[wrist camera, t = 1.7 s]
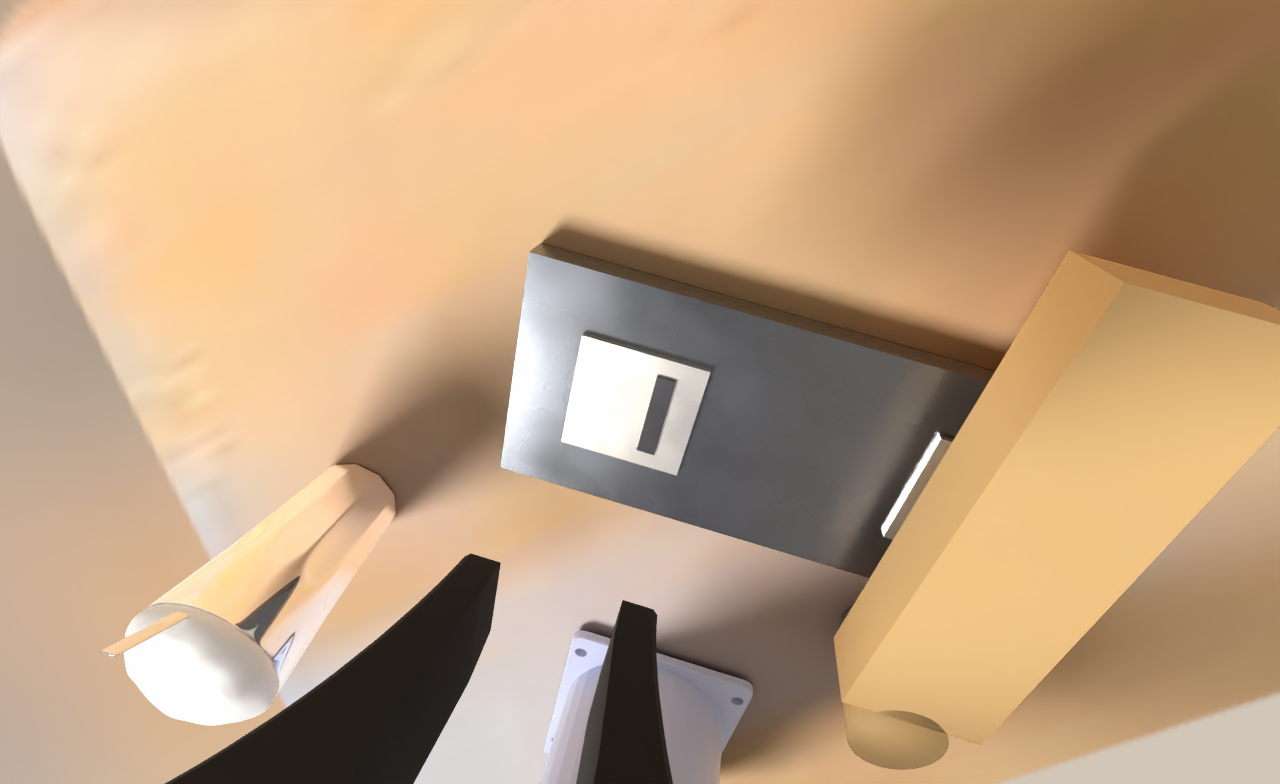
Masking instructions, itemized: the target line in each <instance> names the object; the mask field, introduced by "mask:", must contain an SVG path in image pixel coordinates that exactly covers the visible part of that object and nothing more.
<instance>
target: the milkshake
mask: <svg viewBox="0 0 1280 784" xmlns="http://www.w3.org/2000/svg"><path fill="white" fill-rule="evenodd" d="M395 515H396V509H395V496H394V493H393V492H392V491H391V490H390V488H389V487H388V486H387V485H386V483H385V482H384V481H383V480H382V478H381V477H380V476H379V475H377V474H375V473H373V472H371V471H369V470H367V469H365V468H363V467H361V466H359V465H357V464H346V465H333V466H332V467H330V468H329V469H328V470H326V471H325V472H324V473H323V474H321V475H320V476H319V477H317V478H316V479H315V480H314V481H312V482H311V483H310V484H309V485H307V486H306V487H305V488H303V489H302V490H301V491H300V492H298V493H297V494H296V495H295V496H293V497H292V498H291V499H289V500H288V501H287V502H286V503H284V504H283V505H282V506H281V507H279V508H278V509H277V510H276V511H274V512H273V513H272V514H270V515H269V516H268V517H267V518H265V519H264V520H263V521H262V522H260V523H259V524H258V525H256V526H255V527H254V528H253V529H251V530H250V531H249V532H248V533H246V534H245V535H244V536H242V537H241V538H240V539H239V540H237V541H236V542H235V543H233V544H232V545H231V546H229V547H228V548H227V549H225V550H224V551H223V552H221V553H220V554H218V555H217V556H216V557H214V558H213V559H212V560H210V561H209V562H207V563H206V564H205V565H204V566H202V567H201V568H199V569H198V570H197V571H195V572H194V573H193V574H191V575H190V576H189V577H187V578H186V579H185V580H183V581H182V582H180V583H179V584H178V585H176V586H175V587H174V588H172V589H171V590H170V591H168V592H167V593H166V594H164V595H163V596H162V597H160V598H159V599H158V600H156V601H155V602H154V603H152V604H151V605H150V606H148V607H147V608H146V609H144V610H143V611H141V612H140V613H139V614H138V615H137V616H136V617H134V619H133V620H132V621H131V623H130V624H129V626H128V628H127V630H126V634H125V638H124V639H122V640H120V641H118V642H116V643H114V644H112V645H110V646H108V647H107V648H105V649H103V650H101V651H100V652H101V653H103V654H106V655H110V656H118V655H120V654H122V653H124V658H125V665H126V670H127V673H128V675H129V677H130V678H131V679H132V680H133V681H134V682H135V683H136V684H137V686H138V687H139V689H140V690H141V691H142V693H143V694H144V695H145V696H146V698H147V699H148V700H149V701H150V702H151V703H152V704H153V705H154V706H156V707H157V708H158V709H159V710H160V711H162V712H163V713H164V714H166V715H168V716H170V717H172V718H175V719H180V720H184V721H189V722H192V723H197V724H202V725H221V724H226V723H234V722H239V721H243V720H246V719H250V718H253V717H255V716H258V715H260V714H261V713H263V712H264V711H266V710H267V709H268V708H269V707H270V706H271V704H272V703H273V701H274V699H275V697H276V695H277V694H278V692H279V691H280V689H281V688H282V686H283V685H284V683H285V681H286V680H287V678H288V677H289V675H290V674H291V672H292V670H293V669H294V667H295V666H296V664H297V663H298V661H299V659H300V658H301V656H302V655H303V653H304V652H305V650H306V648H307V647H308V645H309V644H310V642H311V641H312V639H313V637H314V636H315V634H316V633H317V631H318V629H319V628H320V626H321V625H322V623H323V622H324V620H325V618H326V617H327V615H328V614H329V612H330V611H331V609H332V608H333V606H334V605H335V603H336V602H337V600H338V599H339V597H340V596H341V594H342V593H343V592H344V590H345V589H346V587H347V586H348V584H349V583H350V581H351V580H352V578H353V577H354V575H355V574H356V572H357V571H358V569H359V568H360V567H361V565H362V564H363V562H364V561H365V559H366V558H367V556H368V555H369V553H370V552H371V550H372V549H373V547H374V546H375V544H376V543H377V541H378V540H379V539H380V537H381V536H382V534H383V533H384V531H385V530H386V528H387V527H388V525H389V524H390V522H391V521H392V519H393V518H394V516H395Z"/></svg>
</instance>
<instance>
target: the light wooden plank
mask: <svg viewBox="0 0 1280 784" xmlns="http://www.w3.org/2000/svg"><path fill="white" fill-rule="evenodd" d="M1279 426H1280V310H1278V309H1276V308H1274V307H1272V306H1269V305H1267V304H1265V303H1263V302H1259V301H1256V300H1252V299H1248V298H1245V297H1241V296H1237V295H1234V294H1230V293H1226V292H1223V291H1219V290H1215V289H1212V288H1208V287H1204V286H1201V285H1197V284H1193V283H1189V282H1186V281H1182V280H1178V279H1175V278H1171V277H1167V276H1164V275H1160V274H1156V273H1153V272H1149V271H1145V270H1142V269H1138V268H1134V267H1131V266H1127V265H1123V264H1120V263H1116V262H1112V261H1109V260H1105V259H1101V258H1097V257H1094V256H1090V255H1086V254H1083V253H1079V252H1075V251H1072V250H1069V251H1068V252H1067V254H1066V256H1065V257H1064V259H1063V261H1062V262H1061V264H1060V266H1059V267H1058V269H1057V270H1056V272H1055V274H1054V275H1053V277H1052V279H1051V280H1050V282H1049V284H1048V285H1047V287H1046V289H1045V290H1044V292H1043V294H1042V295H1041V297H1040V298H1039V300H1038V302H1037V303H1036V305H1035V307H1034V308H1033V310H1032V312H1031V313H1030V315H1029V317H1028V318H1027V320H1026V322H1025V323H1024V325H1023V326H1022V328H1021V330H1020V331H1019V333H1018V335H1017V336H1016V338H1015V340H1014V341H1013V343H1012V345H1011V346H1010V348H1009V350H1008V351H1007V353H1006V355H1005V356H1004V358H1003V359H1002V361H1001V363H1000V364H999V366H998V368H997V369H996V371H995V373H994V374H993V376H992V378H991V379H990V381H989V383H988V384H987V386H986V387H985V389H984V391H983V392H982V394H981V396H980V397H979V399H978V401H977V402H976V404H975V406H974V407H973V409H972V411H971V412H970V414H969V415H968V417H967V419H966V420H965V422H964V424H963V425H962V427H961V429H960V430H959V432H958V434H957V435H956V437H955V439H954V440H953V442H952V443H951V445H950V447H949V448H948V450H947V452H946V453H945V455H944V457H943V458H942V460H941V462H940V463H939V465H938V467H937V468H936V470H935V471H934V473H933V475H932V476H931V478H930V480H929V481H928V483H927V485H926V486H925V488H924V490H923V491H922V493H921V495H920V496H919V498H918V500H917V501H916V503H915V504H914V506H913V508H912V509H911V511H910V513H909V514H908V516H907V518H906V519H905V521H904V523H903V524H902V526H901V528H900V529H899V531H898V532H897V534H896V536H895V537H894V539H893V541H892V542H891V544H890V546H889V547H888V549H887V551H886V552H885V554H884V556H883V557H882V559H881V560H880V562H879V564H878V565H877V567H876V569H875V570H874V572H873V574H872V575H871V577H870V579H869V580H868V582H867V584H866V585H865V587H864V588H863V590H862V592H861V593H860V595H859V597H858V598H857V600H856V602H855V603H854V605H853V607H852V608H851V610H850V612H849V613H848V615H847V617H846V618H845V620H844V621H843V623H842V625H841V626H840V628H839V630H838V631H837V633H836V635H835V636H834V646H835V653H836V661H837V669H838V677H839V685H840V693H841V701H842V702H843V709H844V717H845V725H846V732H847V740H848V744H849V746H850V748H851V749H852V751H853V752H854V753H855V754H856V755H857V756H859V757H860V758H861V759H863V760H865V761H867V762H869V763H871V764H874V765H876V766H880V767H884V768H889V769H901V770H903V769H915V768H920V767H924V766H927V765H930V764H932V763H934V762H936V761H937V760H939V759H940V758H941V757H942V756H943V755H944V754H945V752H946V751H947V749H948V736H947V735H951V736H954V737H957V738H960V739H964V740H967V741H970V742H973V743H977V744H980V745H982V744H983V742H984V741H985V740H986V739H987V738H988V737H989V736H990V735H991V734H992V733H993V732H994V731H995V730H996V729H997V727H998V726H999V725H1000V724H1001V723H1002V722H1003V721H1004V720H1005V719H1006V718H1007V717H1008V716H1009V715H1010V714H1011V712H1012V711H1013V710H1014V709H1015V708H1016V707H1017V706H1018V705H1019V704H1020V703H1021V702H1022V701H1023V700H1024V699H1025V698H1026V696H1027V695H1028V694H1029V693H1030V692H1031V691H1032V690H1033V689H1034V688H1035V687H1036V686H1037V685H1038V684H1039V683H1040V681H1041V680H1042V679H1043V678H1044V677H1045V676H1046V675H1047V674H1048V673H1049V672H1050V671H1051V670H1052V669H1053V668H1054V667H1055V665H1056V664H1057V663H1058V662H1059V661H1060V660H1061V659H1062V658H1063V657H1064V656H1065V655H1066V654H1067V653H1068V652H1069V650H1070V649H1071V648H1072V647H1073V646H1074V645H1075V644H1076V643H1077V642H1078V641H1079V640H1080V639H1081V638H1082V637H1083V635H1084V634H1085V633H1086V632H1087V631H1088V630H1089V629H1090V628H1091V627H1092V626H1093V625H1094V624H1095V623H1096V622H1097V621H1098V619H1099V618H1100V617H1101V616H1102V615H1103V614H1104V613H1105V612H1106V611H1107V610H1108V609H1109V608H1110V607H1111V606H1112V604H1113V603H1114V602H1115V601H1116V600H1117V599H1118V598H1119V597H1120V596H1121V595H1122V594H1123V593H1124V592H1125V591H1126V590H1127V588H1128V587H1129V586H1130V585H1131V584H1132V583H1133V582H1134V581H1135V580H1136V579H1137V578H1138V577H1139V576H1140V575H1141V573H1142V572H1143V571H1144V570H1145V569H1146V568H1147V567H1148V566H1149V565H1150V564H1151V563H1152V562H1153V561H1154V560H1155V558H1156V557H1157V556H1158V555H1159V554H1160V553H1161V552H1162V551H1163V550H1164V549H1165V548H1166V547H1167V546H1168V545H1169V544H1170V542H1171V541H1172V540H1173V539H1174V538H1175V537H1176V536H1177V535H1178V534H1179V533H1180V532H1181V531H1182V530H1183V529H1184V527H1185V526H1186V525H1187V524H1188V523H1189V522H1190V521H1191V520H1192V519H1193V518H1194V517H1195V516H1196V515H1197V514H1198V512H1199V511H1200V510H1201V509H1202V508H1203V507H1204V506H1205V505H1206V504H1207V503H1208V502H1209V501H1210V500H1211V499H1212V498H1213V496H1214V495H1215V494H1216V493H1217V492H1218V491H1219V490H1220V489H1221V488H1222V487H1223V486H1224V485H1225V484H1226V483H1227V481H1228V480H1229V479H1230V478H1231V477H1232V476H1233V475H1234V474H1235V473H1236V472H1237V471H1238V470H1239V469H1240V468H1241V467H1242V465H1243V464H1244V463H1245V462H1246V461H1247V460H1248V459H1249V458H1250V457H1251V456H1252V455H1253V454H1254V453H1255V452H1256V450H1257V449H1258V448H1259V447H1260V446H1261V445H1262V444H1263V443H1264V442H1265V441H1266V440H1267V439H1268V438H1269V437H1270V435H1271V434H1272V433H1273V432H1274V431H1275V430H1276V429H1277V428H1278V427H1279Z"/></svg>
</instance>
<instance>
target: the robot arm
mask: <svg viewBox="0 0 1280 784" xmlns="http://www.w3.org/2000/svg"><path fill="white" fill-rule="evenodd" d="M500 564H501V563H500V562H497V561H493V560H490V559H487V558H483V557H480V556H477V555H474V554H469V555H467V556H465V557H464V558H463V559H462V560H461V561H460V562H459V563H458V564H457V565H456V566H455V568H454V569H453V570H452V571H451V572H450V573H449V574H448V575H447V576H446V577H445V578H444V579H443V580H442V581H441V582H440V583H439V584H438V585H437V586H436V587H435V588H433V589H432V590H431V591H430V592H429V593H428V594H427V595H426V596H425V597H424V598H423V599H422V600H421V601H420V602H419V603H418V604H416V605H415V606H414V607H413V608H412V609H411V610H410V611H409V612H407V613H406V614H405V615H404V616H403V617H402V618H401V619H400V620H398V621H397V622H396V623H395V624H394V625H393V626H392V627H390V628H389V629H388V630H387V631H386V632H385V633H384V634H382V635H381V636H380V637H379V638H378V639H376V640H375V641H374V642H373V643H372V644H370V645H369V646H368V647H367V648H365V649H364V650H363V651H362V652H360V653H359V654H358V655H357V656H355V657H354V658H353V659H352V660H350V661H349V662H348V663H347V664H345V665H344V666H343V667H341V668H340V669H339V670H338V671H336V672H335V673H334V674H333V675H331V676H330V677H329V678H327V679H326V680H325V681H323V682H322V683H321V684H319V685H318V686H316V687H315V688H314V689H312V690H311V691H310V692H308V693H307V694H305V695H304V696H303V697H301V698H300V699H298V700H297V701H296V702H294V703H293V704H291V705H290V706H288V707H287V708H286V709H284V710H283V711H281V712H280V713H278V714H277V715H275V716H274V717H272V718H271V719H269V720H268V721H267V722H265V723H263V724H262V725H260V726H259V727H257V728H256V729H254V730H253V731H251V732H249V733H248V734H246V735H245V736H243V737H242V738H240V739H239V740H237V741H236V742H234V743H233V744H231V745H229V746H228V747H226V748H225V749H223V750H222V751H220V752H218V753H217V754H215V755H213V756H212V757H210V758H208V759H207V760H205V761H203V762H202V763H200V764H199V765H197V766H195V767H193V768H192V769H190V770H188V771H187V772H185V773H183V774H181V775H179V776H178V777H176V778H174V779H172V780H171V781H169V782H167V783H165V784H413V783H414V781H415V780H416V778H417V776H418V774H419V772H420V770H421V769H422V767H423V765H424V763H425V761H426V759H427V758H428V756H429V754H430V752H431V750H432V748H433V747H434V745H435V743H436V741H437V739H438V737H439V736H440V734H441V732H442V730H443V728H444V726H445V725H446V723H447V721H448V719H449V717H450V715H451V714H452V712H453V710H454V708H455V706H456V704H457V703H458V701H459V699H460V697H461V695H462V693H463V691H464V690H465V688H466V686H467V684H468V682H469V680H470V678H471V675H472V673H473V671H474V668H475V666H476V664H477V661H478V659H479V657H480V654H481V652H482V649H483V647H484V645H485V642H486V640H487V637H488V635H489V633H490V630H491V623H492V617H493V610H494V603H495V597H496V590H497V584H498V577H499V570H500ZM656 624H657V614H656V613H655V611H654V610H653V609H650V608H647V607H643V606H640V605H637V604H634V603H630V602H627V601H624V600H623V601H622V604H621V608H620V611H619V614H618V617H617V620H616V624H615V627H614V630H613V633H612V636H611V638H608V637H604V636H601V635H598V634H595V633H591V632H588V631H578V632H576V633H575V634H574V637H573V640H572V643H571V647H570V651H569V655H568V658H567V662H566V666H565V670H564V674H563V678H562V681H561V685H560V689H559V693H558V697H557V700H556V704H555V708H554V712H553V716H552V720H551V723H550V727H549V731H548V735H547V739H546V742H545V746H544V750H545V752H546V753H547V754H548V757H547V761H546V764H545V767H544V770H543V773H542V777H541V780H540V783H539V784H719V782H720V765H721V754H722V752H723V750H724V748H725V746H726V745H727V743H728V741H729V739H730V737H731V735H732V733H733V732H734V730H735V728H736V726H737V724H738V722H739V721H740V719H741V717H742V715H743V713H744V711H745V709H746V708H747V706H748V704H749V702H750V700H751V698H752V696H753V687H752V685H751V684H750V683H749V682H748V681H746V680H743V679H740V678H737V677H734V676H730V675H727V674H724V673H721V672H717V671H714V670H711V669H708V668H705V667H701V666H698V665H695V664H692V663H688V662H685V661H682V660H679V659H675V658H672V657H669V656H666V655H663V654H659V653H656Z"/></svg>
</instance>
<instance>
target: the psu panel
mask: <svg viewBox="0 0 1280 784" xmlns="http://www.w3.org/2000/svg"><path fill="white" fill-rule="evenodd" d="M994 373H995V371H992V370H989V369H985V368H981V367H978V366H974V365H971V364H967V363H964V362H960V361H957V360H953V359H950V358H946V357H942V356H939V355H935V354H932V353H928V352H925V351H921V350H918V349H914V348H911V347H907V346H903V345H900V344H896V343H893V342H889V341H886V340H882V339H879V338H875V337H871V336H868V335H864V334H861V333H857V332H854V331H850V330H847V329H843V328H840V327H836V326H832V325H829V324H825V323H822V322H818V321H815V320H811V319H808V318H804V317H801V316H797V315H793V314H790V313H786V312H783V311H779V310H776V309H772V308H769V307H765V306H761V305H758V304H754V303H751V302H747V301H744V300H740V299H737V298H733V297H730V296H726V295H722V294H719V293H715V292H712V291H708V290H705V289H701V288H698V287H694V286H691V285H687V284H683V283H680V282H676V281H673V280H669V279H666V278H662V277H659V276H655V275H651V274H648V273H644V272H641V271H637V270H634V269H630V268H627V267H623V266H620V265H616V264H612V263H609V262H605V261H602V260H598V259H595V258H591V257H588V256H584V255H581V254H577V253H573V252H570V251H566V250H563V249H559V248H556V247H552V246H549V245H545V244H542V243H540V244H539V245H538V246H536V247H535V248H534V249H533V250H531V251H530V252H529V259H528V266H527V274H526V281H525V289H524V296H523V303H522V311H521V318H520V326H519V333H518V340H517V348H516V355H515V363H514V370H513V377H512V385H511V392H510V400H509V407H508V414H507V422H506V429H505V437H504V444H503V451H502V459H501V466H500V467H501V468H504V469H507V470H511V471H514V472H518V473H521V474H524V475H528V476H531V477H534V478H538V479H541V480H544V481H548V482H551V483H554V484H558V485H561V486H564V487H568V488H571V489H574V490H578V491H581V492H584V493H588V494H591V495H594V496H598V497H601V498H604V499H608V500H611V501H614V502H618V503H621V504H624V505H628V506H631V507H634V508H638V509H641V510H644V511H648V512H651V513H654V514H658V515H661V516H664V517H668V518H671V519H674V520H678V521H681V522H685V523H688V524H691V525H695V526H698V527H701V528H705V529H708V530H711V531H715V532H718V533H721V534H725V535H728V536H731V537H735V538H738V539H741V540H745V541H748V542H751V543H755V544H758V545H761V546H765V547H768V548H771V549H775V550H778V551H781V552H785V553H788V554H791V555H795V556H798V557H801V558H805V559H808V560H811V561H815V562H818V563H821V564H825V565H828V566H831V567H835V568H838V569H841V570H845V571H848V572H852V573H855V574H858V575H862V576H865V577H868V578H870V577H871V575H872V574H873V572H874V570H875V569H876V567H877V565H878V564H879V562H880V560H881V559H882V557H883V556H884V554H885V552H886V551H887V549H888V547H889V546H890V544H891V542H892V541H893V539H894V537H895V536H896V534H897V532H898V531H899V529H900V528H901V526H902V524H903V523H904V521H905V519H906V518H907V516H908V514H909V513H910V511H911V509H912V508H913V506H914V504H915V503H916V501H917V500H918V498H919V496H920V495H921V493H922V491H923V490H924V488H925V486H926V485H927V483H928V481H929V480H930V478H931V476H932V475H933V473H934V471H935V470H936V468H937V467H938V465H939V463H940V462H941V460H942V458H943V457H944V455H945V453H946V452H947V450H948V448H949V447H950V445H951V443H952V442H953V440H954V439H955V437H956V435H957V434H958V432H959V430H960V429H961V427H962V425H963V424H964V422H965V420H966V419H967V417H968V415H969V414H970V412H971V411H972V409H973V407H974V406H975V404H976V402H977V401H978V399H979V397H980V396H981V394H982V392H983V391H984V389H985V387H986V386H987V384H988V383H989V381H990V379H991V378H992V376H993V374H994Z"/></svg>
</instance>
